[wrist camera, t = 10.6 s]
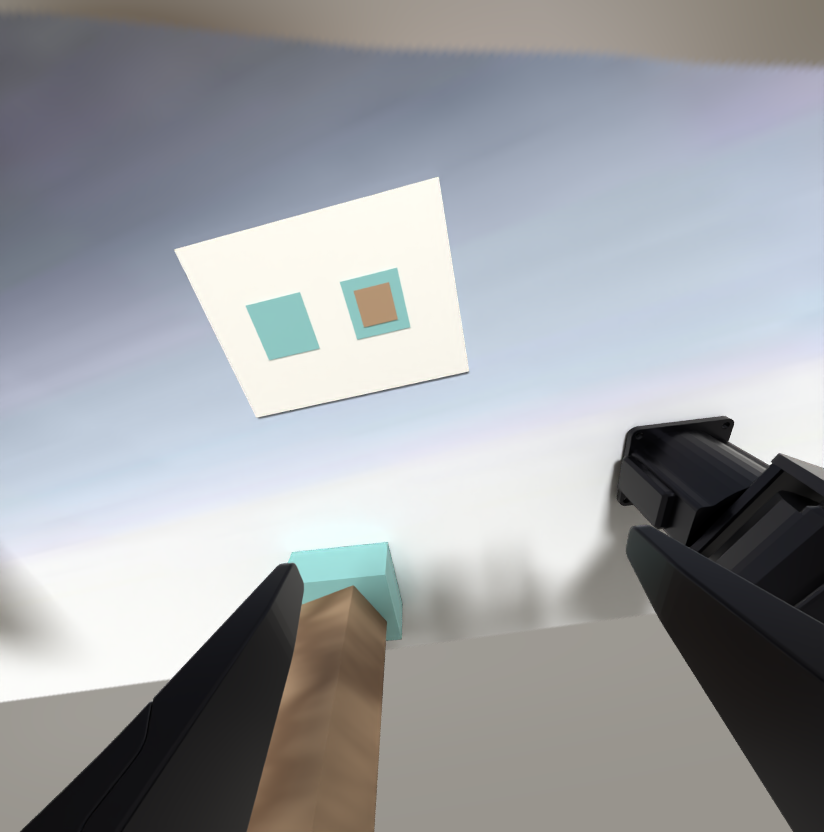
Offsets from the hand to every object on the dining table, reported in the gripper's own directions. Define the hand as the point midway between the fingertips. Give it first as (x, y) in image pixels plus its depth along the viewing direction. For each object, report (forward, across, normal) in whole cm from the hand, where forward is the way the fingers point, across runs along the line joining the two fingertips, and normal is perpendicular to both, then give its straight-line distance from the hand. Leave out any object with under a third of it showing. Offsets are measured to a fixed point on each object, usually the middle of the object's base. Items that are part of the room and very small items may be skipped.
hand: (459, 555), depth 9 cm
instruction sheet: (+13, +5, -5) cm, 15 cm away
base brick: (+13, +9, +17) cm, 23 cm away
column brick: (+10, +9, +17) cm, 22 cm away
